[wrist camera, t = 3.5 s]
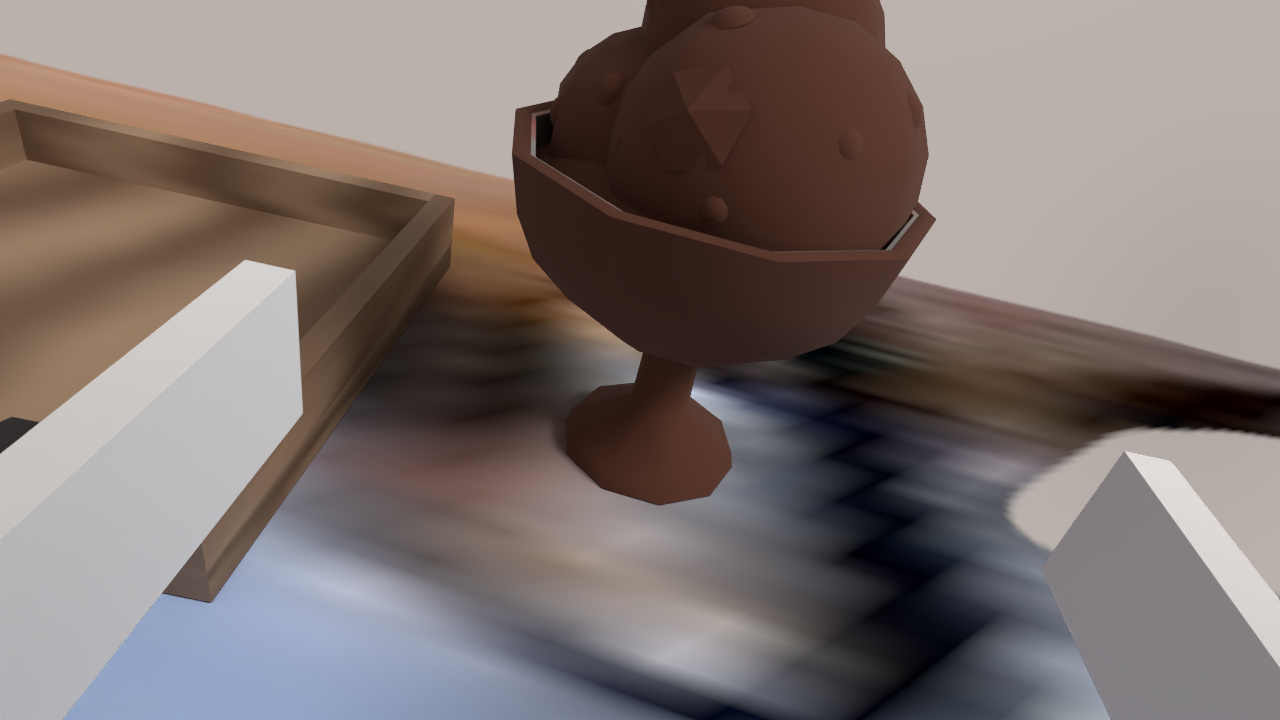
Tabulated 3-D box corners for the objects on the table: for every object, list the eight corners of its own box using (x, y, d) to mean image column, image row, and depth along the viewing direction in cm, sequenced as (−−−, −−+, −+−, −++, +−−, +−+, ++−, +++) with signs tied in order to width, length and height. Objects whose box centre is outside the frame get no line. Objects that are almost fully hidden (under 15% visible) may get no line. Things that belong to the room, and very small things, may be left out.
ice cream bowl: (438, 363, 26) (473, -160, 18) (716, 341, 31) (840, -75, 23) (533, 614, 18) (668, -102, 10) (882, 532, 23) (1157, 6, 15)
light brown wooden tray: (449, 265, 32) (454, 198, 30) (211, 602, 17) (195, 505, 15) (28, 172, 31) (10, 99, 30) (-604, 435, 16) (-710, 316, 15)
